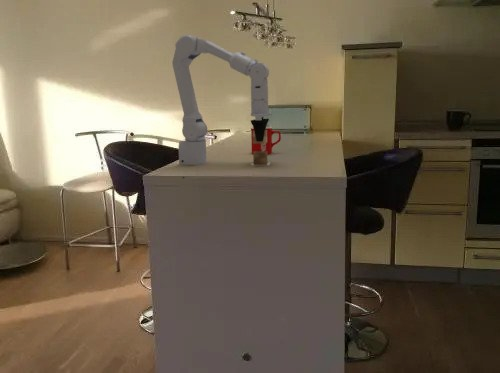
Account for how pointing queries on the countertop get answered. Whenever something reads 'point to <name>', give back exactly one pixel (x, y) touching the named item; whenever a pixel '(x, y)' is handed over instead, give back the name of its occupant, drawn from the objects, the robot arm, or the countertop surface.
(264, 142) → the beech block
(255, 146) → the mug
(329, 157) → the countertop surface
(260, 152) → the walnut block
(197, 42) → the robot arm
